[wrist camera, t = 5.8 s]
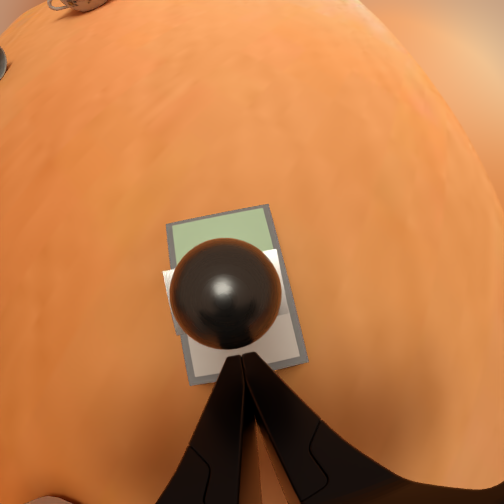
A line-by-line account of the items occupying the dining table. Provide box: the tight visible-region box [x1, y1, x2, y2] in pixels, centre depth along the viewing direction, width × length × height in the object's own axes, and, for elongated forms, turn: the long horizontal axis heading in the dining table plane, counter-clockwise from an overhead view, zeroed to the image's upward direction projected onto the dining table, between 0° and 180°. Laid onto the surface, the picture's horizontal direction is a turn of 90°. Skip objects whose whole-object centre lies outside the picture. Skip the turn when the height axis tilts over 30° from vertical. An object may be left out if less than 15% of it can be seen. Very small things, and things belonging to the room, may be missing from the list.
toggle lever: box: [163, 238, 289, 350], centre depth 11 cm, size 3×3×10 cm
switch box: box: [166, 204, 309, 386], centre depth 17 cm, size 9×6×3 cm, turn 12°
